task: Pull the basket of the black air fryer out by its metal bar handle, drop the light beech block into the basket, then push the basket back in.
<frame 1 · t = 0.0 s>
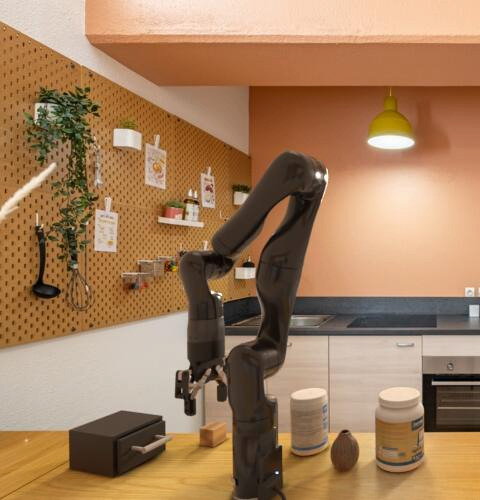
hand: (207, 408, 93), 17 cm above the table, tool pointing down, fingers open, 8 cm apart
fryer basket: (131, 443, 102), point 5 cm above the table, slide at 0.5 cm
air fryer: (117, 460, 103), on the table
block: (213, 442, 112), on the table
vase: (345, 467, 99), on the table
supplement tub: (309, 448, 108), on the table
supplement tub 2: (400, 462, 101), on the table
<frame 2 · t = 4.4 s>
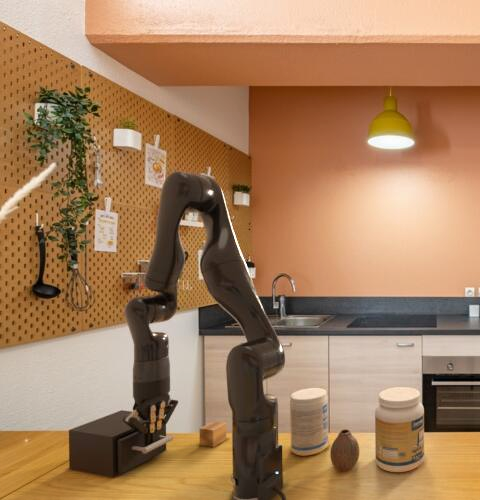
hand: (152, 445, 100), 5 cm above the table, tool pointing down, fingers closed
fryer basket: (132, 443, 102), point 5 cm above the table, slide at 0.7 cm, touching gripper
everything else where it was.
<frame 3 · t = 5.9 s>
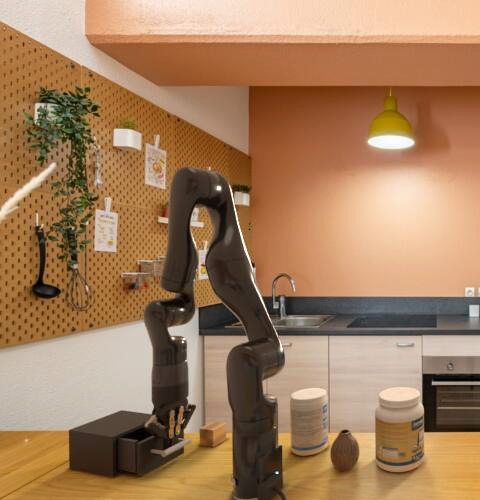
hand: (171, 451, 98), 4 cm above the table, tool pointing down, fingers closed
fryer basket: (150, 446, 100), point 5 cm above the table, slide at 6.6 cm, touching gripper
everything else where it was.
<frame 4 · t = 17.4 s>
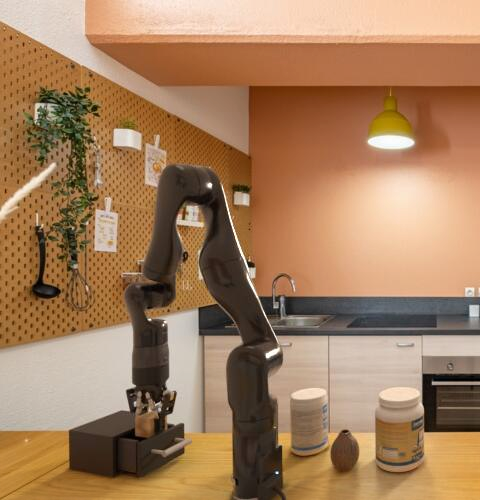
hand: (151, 430, 100), 9 cm above the table, tool pointing down, fingers closed on block, 4 cm apart
block: (151, 433, 100), point 8 cm above the table, touching gripper
everything else where it was.
when the fingers open (12 cm above the table, at t = 34.2 s): block drops 9 cm, resting on fryer basket.
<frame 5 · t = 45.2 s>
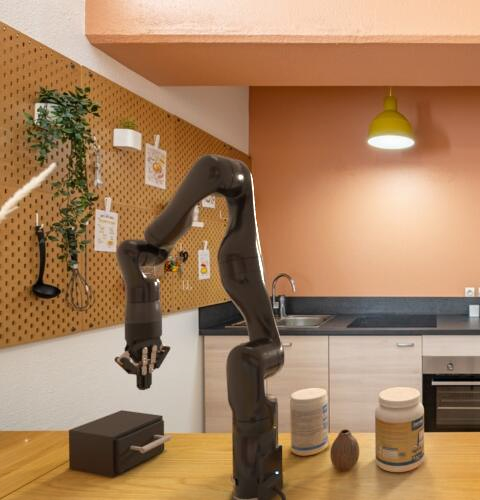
hand: (144, 388, 100), 19 cm above the table, tool pointing down, fingers closed
fryer basket: (130, 443, 102), point 5 cm above the table, slide at 0.0 cm, touching block
block: (132, 454, 102), point 2 cm above the table, touching fryer basket
everything else where it was.
at the end: fryer basket pulled out 6.8 cm at the most during the clip and back in by the end; block inside the target area in the air fryer (4.8 cm from its centre), point 2.0 cm above the air fryer's base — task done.
